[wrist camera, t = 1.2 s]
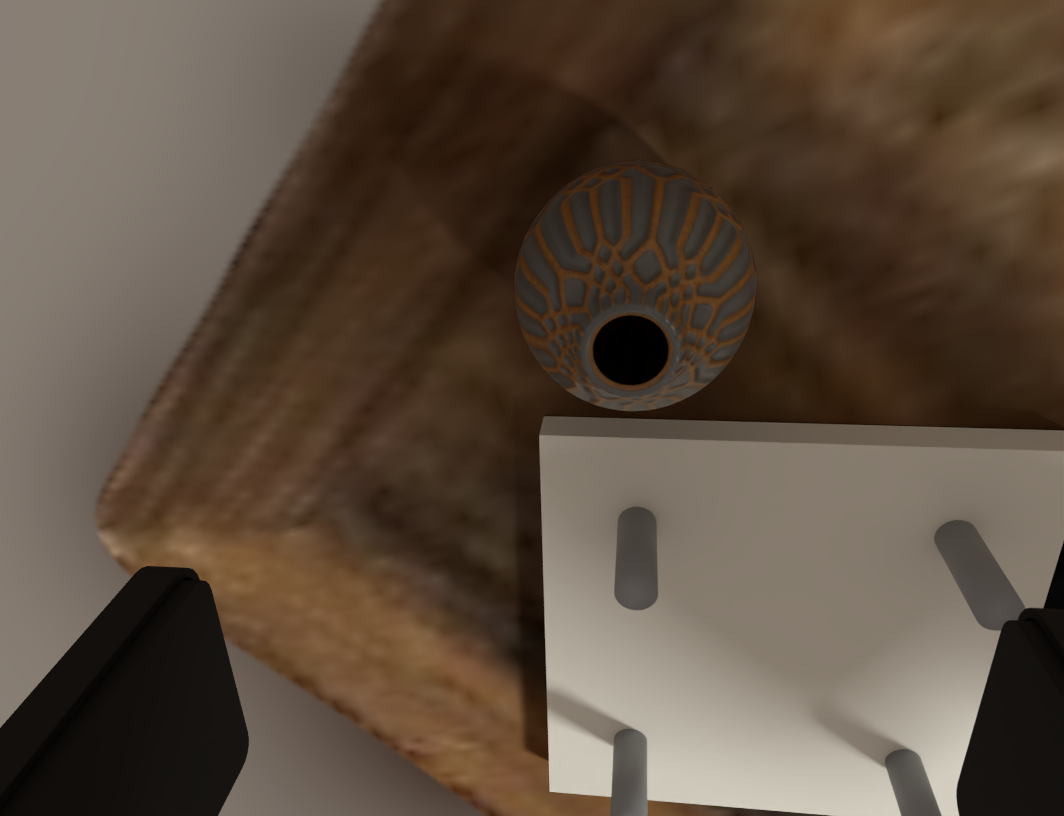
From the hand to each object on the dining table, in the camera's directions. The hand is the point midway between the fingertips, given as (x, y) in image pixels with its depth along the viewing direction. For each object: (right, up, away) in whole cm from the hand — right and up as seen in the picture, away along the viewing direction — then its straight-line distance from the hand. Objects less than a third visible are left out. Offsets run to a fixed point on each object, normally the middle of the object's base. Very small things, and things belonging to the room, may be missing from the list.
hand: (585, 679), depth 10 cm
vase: (+3, +8, +17) cm, 20 cm away
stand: (+9, -5, +23) cm, 25 cm away
